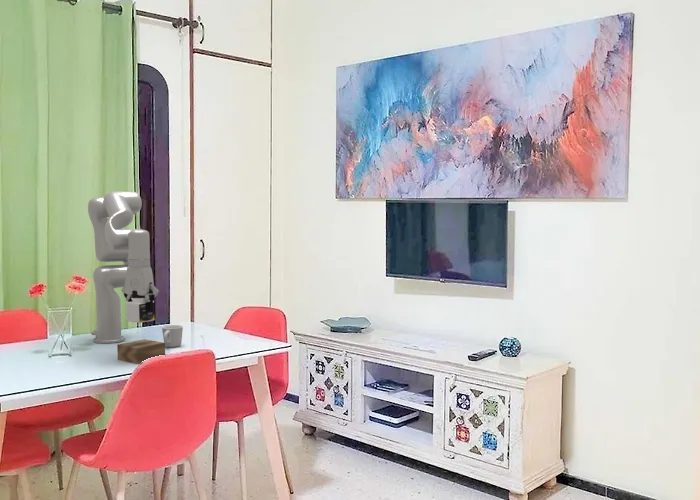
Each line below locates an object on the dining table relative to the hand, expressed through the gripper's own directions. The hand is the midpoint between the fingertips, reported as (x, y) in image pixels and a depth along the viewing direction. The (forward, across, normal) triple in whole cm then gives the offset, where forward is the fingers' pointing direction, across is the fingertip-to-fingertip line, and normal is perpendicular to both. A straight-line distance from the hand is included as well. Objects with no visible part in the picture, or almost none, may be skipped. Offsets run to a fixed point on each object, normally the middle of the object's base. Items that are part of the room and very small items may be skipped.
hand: (140, 311), depth 256 cm
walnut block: (+18, 0, 0) cm, 18 cm away
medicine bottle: (+4, 0, 0) cm, 4 cm away
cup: (+18, -4, +22) cm, 29 cm away
